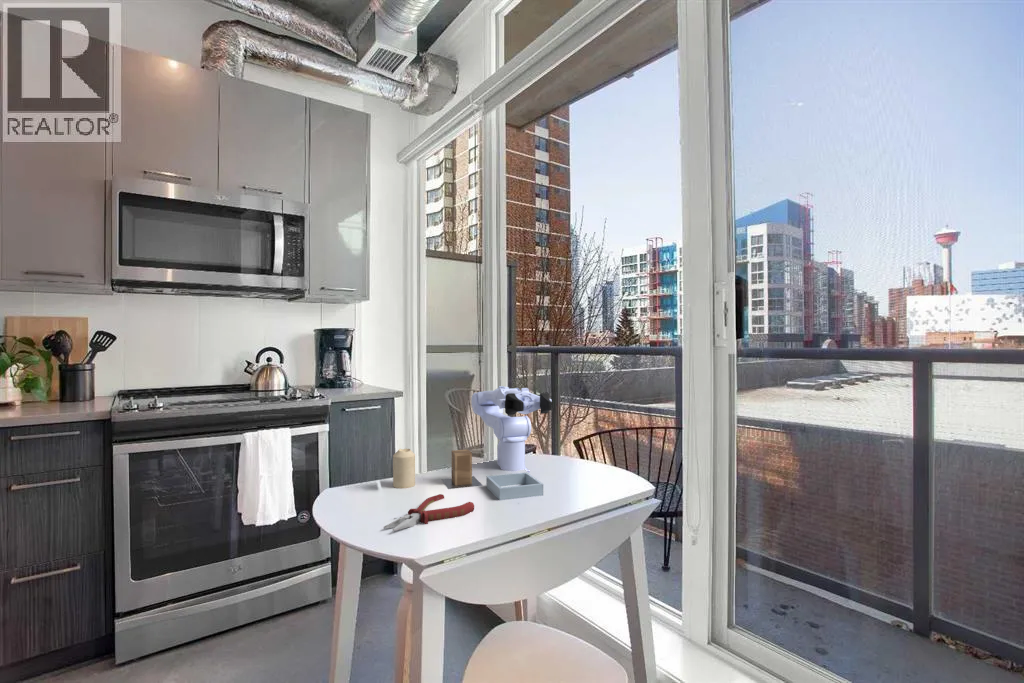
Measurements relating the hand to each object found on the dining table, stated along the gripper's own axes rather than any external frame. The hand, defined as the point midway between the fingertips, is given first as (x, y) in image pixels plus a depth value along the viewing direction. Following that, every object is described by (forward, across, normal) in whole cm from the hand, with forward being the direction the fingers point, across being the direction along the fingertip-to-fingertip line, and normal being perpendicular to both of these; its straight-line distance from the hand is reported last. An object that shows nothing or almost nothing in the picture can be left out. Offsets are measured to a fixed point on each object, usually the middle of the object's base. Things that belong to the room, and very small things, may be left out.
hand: (536, 406), depth 126 cm
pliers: (+9, -29, +23) cm, 38 cm away
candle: (-12, -31, +22) cm, 40 cm away
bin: (+1, -6, +21) cm, 22 cm away
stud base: (-10, -17, +21) cm, 29 cm away
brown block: (-10, -17, +20) cm, 28 cm away
